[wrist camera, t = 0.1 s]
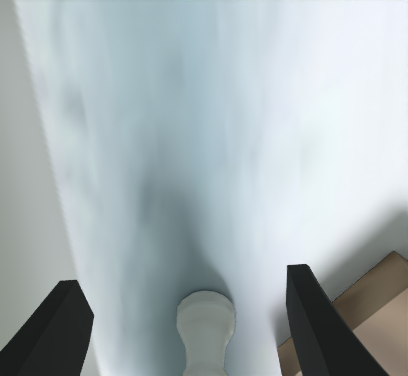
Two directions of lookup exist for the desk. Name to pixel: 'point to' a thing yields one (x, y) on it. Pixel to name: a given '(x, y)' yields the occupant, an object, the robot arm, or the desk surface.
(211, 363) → the rook chess piece
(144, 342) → the desk surface
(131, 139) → the desk surface
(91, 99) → the desk surface
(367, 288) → the walnut block
